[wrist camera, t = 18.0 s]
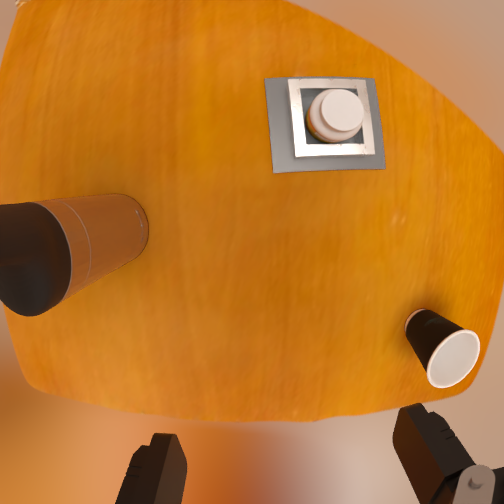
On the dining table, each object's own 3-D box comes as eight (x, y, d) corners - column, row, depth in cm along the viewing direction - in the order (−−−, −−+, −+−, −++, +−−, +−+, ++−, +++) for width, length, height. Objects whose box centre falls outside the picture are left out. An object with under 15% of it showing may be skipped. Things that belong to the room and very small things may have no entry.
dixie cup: (428, 287, 37) (471, 316, 27) (447, 324, 38) (486, 358, 28) (386, 322, 39) (418, 362, 28) (408, 357, 40) (438, 399, 29)
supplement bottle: (313, 94, 32) (325, 72, 23) (354, 112, 32) (379, 97, 23) (297, 133, 34) (304, 123, 25) (339, 151, 34) (360, 148, 25)
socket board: (273, 173, 36) (273, 171, 32) (264, 81, 34) (264, 69, 30) (382, 169, 35) (395, 167, 31) (371, 81, 33) (382, 70, 29)
